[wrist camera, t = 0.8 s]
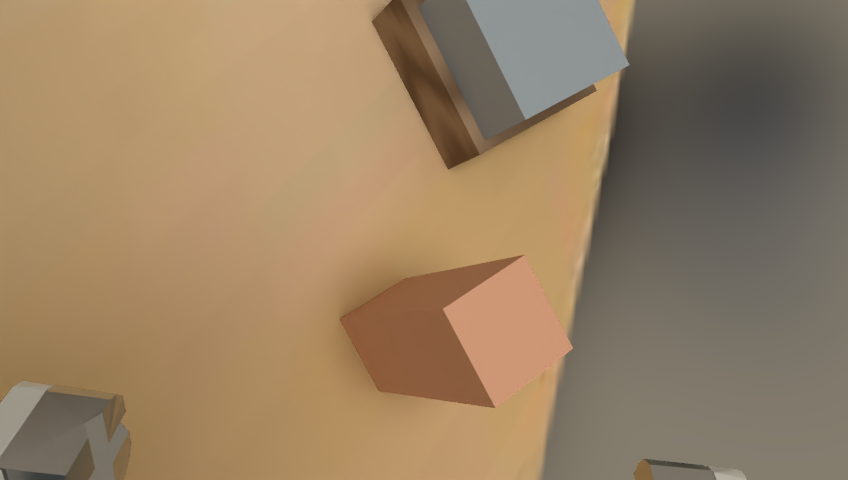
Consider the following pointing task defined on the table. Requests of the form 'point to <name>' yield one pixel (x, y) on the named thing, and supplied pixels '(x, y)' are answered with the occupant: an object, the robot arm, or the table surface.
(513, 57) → the tower top block
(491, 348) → the terracotta block
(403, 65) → the tower base block
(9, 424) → the robot arm
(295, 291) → the table surface
